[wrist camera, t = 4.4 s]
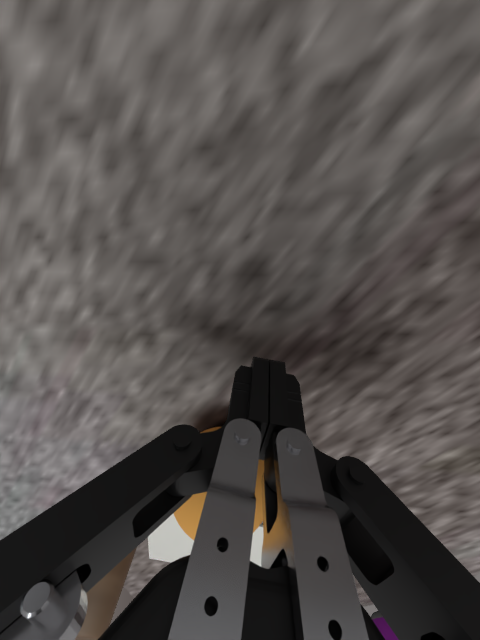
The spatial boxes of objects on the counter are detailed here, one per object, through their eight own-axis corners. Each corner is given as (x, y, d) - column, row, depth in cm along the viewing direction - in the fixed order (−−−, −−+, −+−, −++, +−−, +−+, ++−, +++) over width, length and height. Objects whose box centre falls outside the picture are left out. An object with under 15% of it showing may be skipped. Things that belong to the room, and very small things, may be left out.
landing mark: (146, 502, 24) (145, 504, 24) (293, 530, 24) (293, 533, 24) (150, 556, 32) (149, 558, 32) (262, 577, 32) (262, 580, 32)
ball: (146, 544, 15) (180, 442, 19) (247, 571, 15) (256, 465, 20) (158, 509, 11) (197, 395, 16) (289, 546, 12) (288, 424, 16)
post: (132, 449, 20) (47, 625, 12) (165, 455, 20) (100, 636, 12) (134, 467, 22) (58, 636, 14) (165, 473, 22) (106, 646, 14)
